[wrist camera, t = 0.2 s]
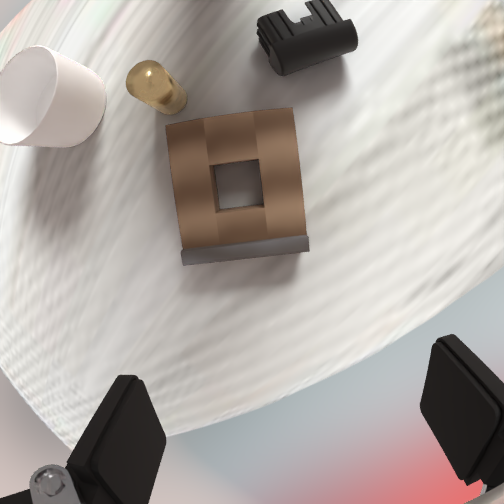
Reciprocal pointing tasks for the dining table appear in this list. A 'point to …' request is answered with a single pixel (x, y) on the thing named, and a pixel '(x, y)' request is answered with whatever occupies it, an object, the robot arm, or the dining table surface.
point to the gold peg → (156, 87)
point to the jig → (247, 217)
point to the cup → (48, 100)
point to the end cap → (305, 37)
